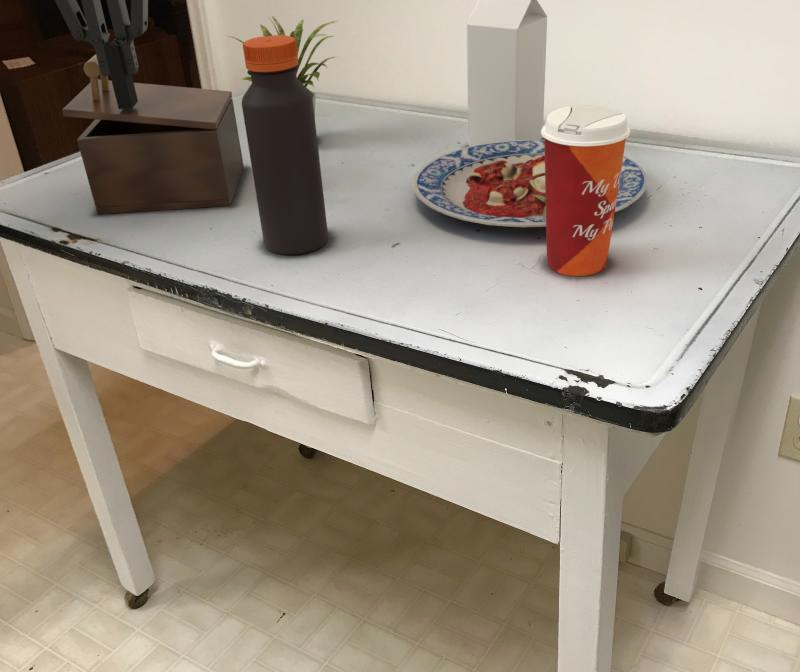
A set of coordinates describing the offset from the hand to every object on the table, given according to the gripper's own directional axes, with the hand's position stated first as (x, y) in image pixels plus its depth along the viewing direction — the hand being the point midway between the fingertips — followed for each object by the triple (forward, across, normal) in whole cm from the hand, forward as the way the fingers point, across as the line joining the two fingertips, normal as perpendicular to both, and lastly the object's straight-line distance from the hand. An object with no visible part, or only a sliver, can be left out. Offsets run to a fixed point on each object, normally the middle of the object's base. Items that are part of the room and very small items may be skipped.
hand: (128, 105), depth 95 cm
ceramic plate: (+12, -44, +5) cm, 46 cm away
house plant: (+12, -17, -19) cm, 28 cm away
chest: (+12, -2, -4) cm, 12 cm away
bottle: (+12, -18, +14) cm, 26 cm away
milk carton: (+12, -44, -13) cm, 47 cm away
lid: (+1, -2, -4) cm, 5 cm away
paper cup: (+12, -46, +23) cm, 53 cm away
